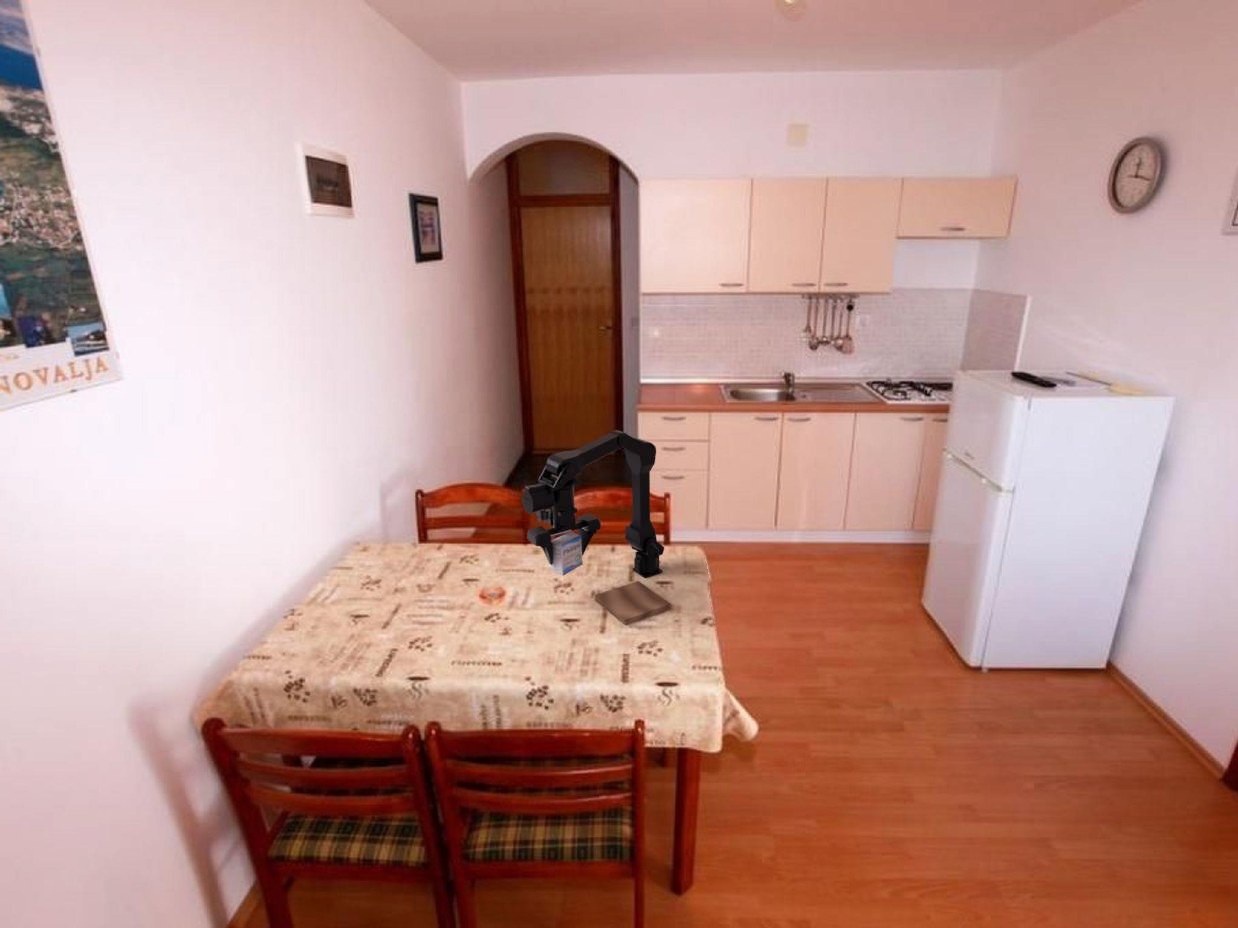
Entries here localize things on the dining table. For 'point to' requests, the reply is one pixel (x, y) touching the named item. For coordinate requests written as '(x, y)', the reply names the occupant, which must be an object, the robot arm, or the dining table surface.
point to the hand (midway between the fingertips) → (566, 559)
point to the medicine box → (566, 553)
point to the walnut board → (632, 602)
